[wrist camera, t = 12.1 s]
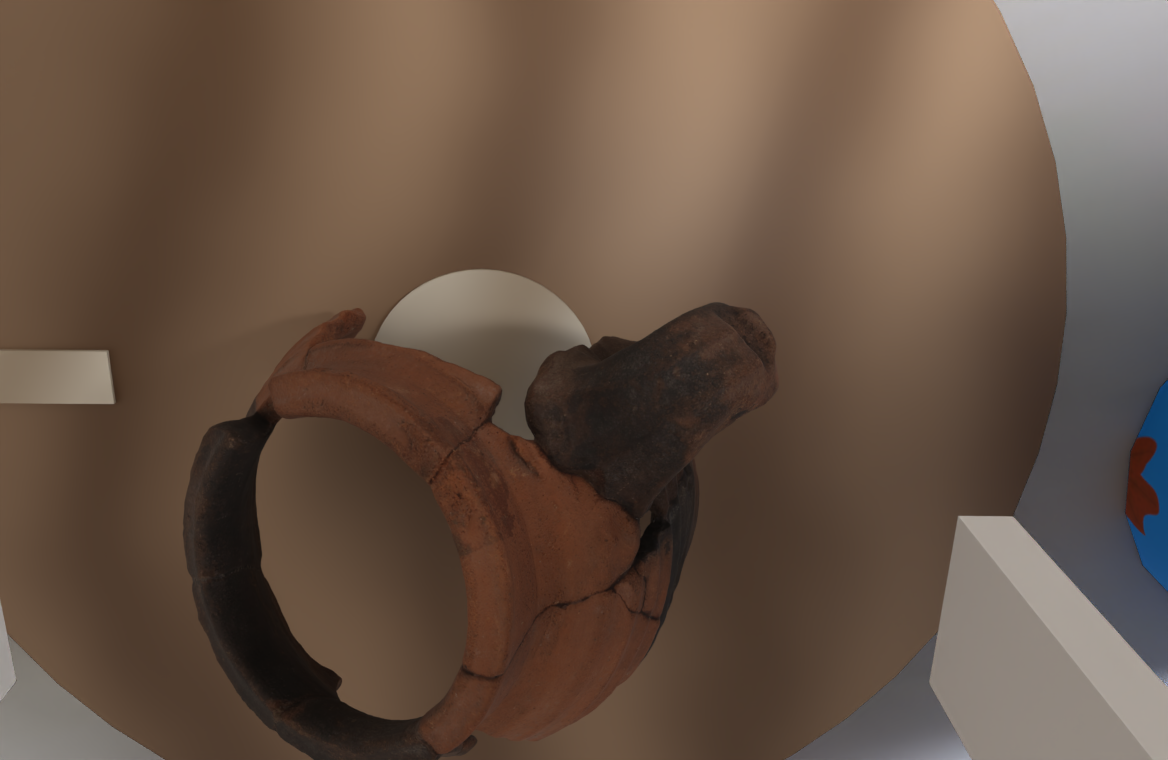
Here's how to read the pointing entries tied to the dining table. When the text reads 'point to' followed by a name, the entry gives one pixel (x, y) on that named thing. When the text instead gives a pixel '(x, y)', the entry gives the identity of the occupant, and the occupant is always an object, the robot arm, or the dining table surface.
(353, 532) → the disc
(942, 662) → the robot arm
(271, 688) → the pottery mug
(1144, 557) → the thermos
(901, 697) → the dining table surface
